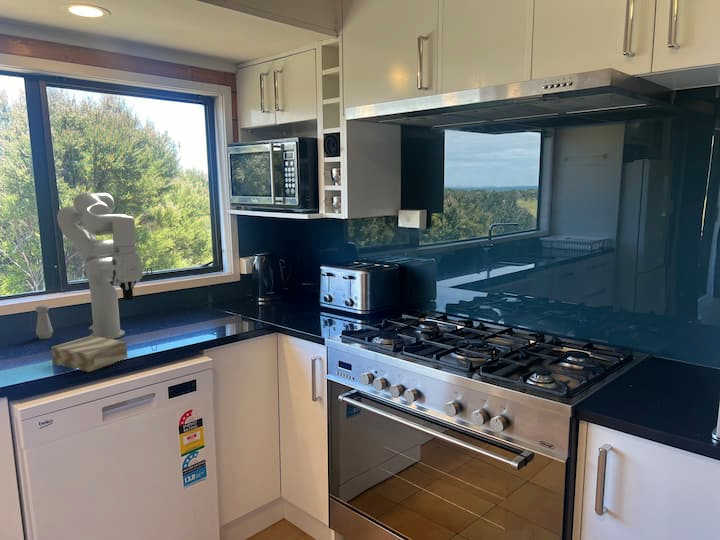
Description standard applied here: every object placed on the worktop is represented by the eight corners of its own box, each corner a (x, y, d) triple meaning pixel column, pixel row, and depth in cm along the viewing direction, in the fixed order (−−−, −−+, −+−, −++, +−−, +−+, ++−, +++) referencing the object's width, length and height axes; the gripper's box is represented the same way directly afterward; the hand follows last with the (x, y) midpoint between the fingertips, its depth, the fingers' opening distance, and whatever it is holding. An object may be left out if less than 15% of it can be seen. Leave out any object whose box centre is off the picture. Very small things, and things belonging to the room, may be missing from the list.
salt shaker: (38, 336, 214) (35, 304, 211) (54, 335, 216) (51, 303, 213) (35, 340, 208) (31, 307, 206) (51, 338, 210) (48, 306, 208)
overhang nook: (53, 363, 181) (51, 346, 180) (92, 351, 194) (91, 335, 193) (88, 371, 173) (87, 354, 172) (127, 358, 186) (126, 341, 185)
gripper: (114, 253, 185) (118, 305, 188) (149, 248, 198) (151, 296, 201) (99, 251, 188) (103, 302, 191) (134, 247, 201) (137, 294, 204)
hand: (128, 299), depth 196 cm, fingers closed
